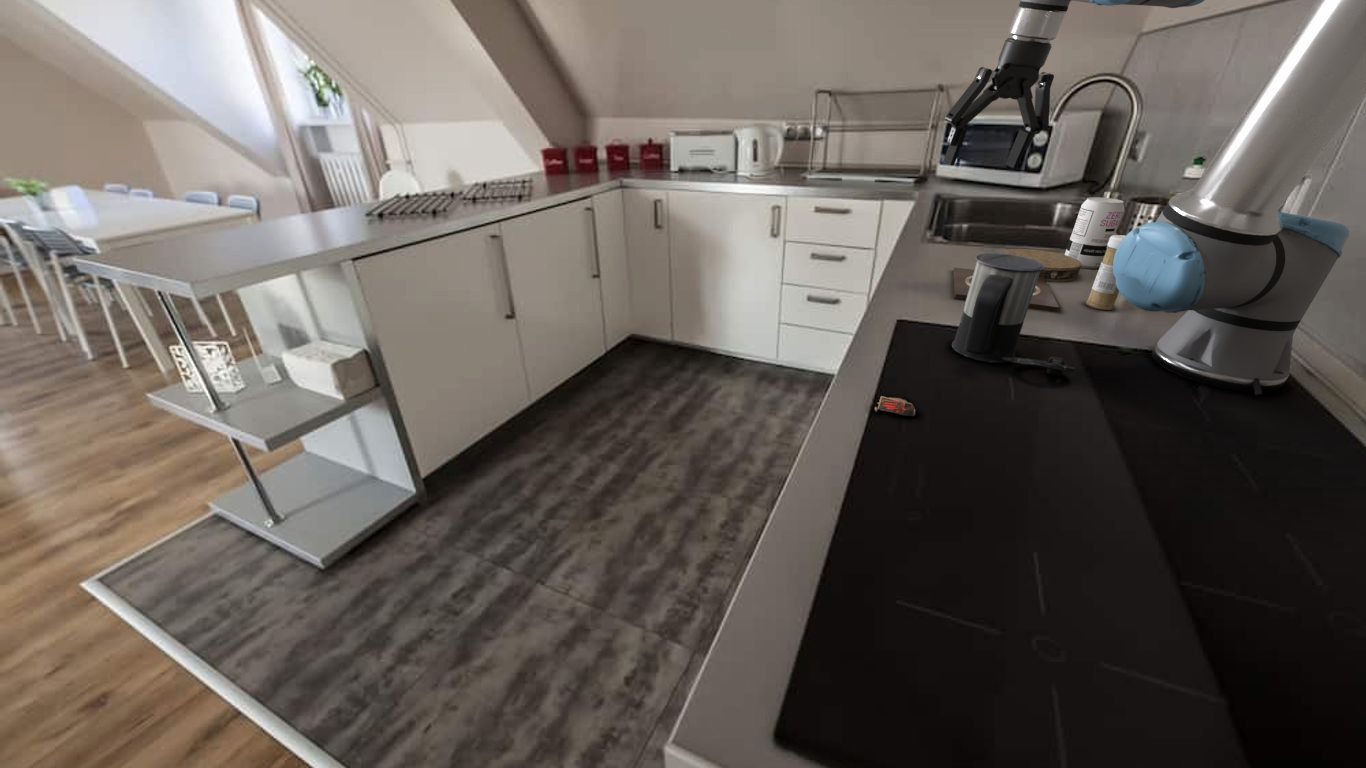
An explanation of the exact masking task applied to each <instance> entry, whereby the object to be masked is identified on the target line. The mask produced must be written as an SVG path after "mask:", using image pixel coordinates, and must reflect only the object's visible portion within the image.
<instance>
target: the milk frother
mask: <svg viewBox="0 0 1366 768" xmlns="http://www.w3.org/2000/svg"><path fill="white" fill-rule="evenodd" d="M975 260H976V264H975V267H974V269H973V270H974V274H973V277H972V281H971V284H970V288H969V292H968V295H967V299H966V300H965V303H964V307H963V311H962V313H961V317H960V322H959V324H958V328H957V330H956V333H955V336H954V340H952V343H951V347H952V349H953V350H954V351H955V352H957V353H958V354H960V355H962V356H963V357H967V358H969V359H971V360H972V359H973V360H975V361H979V362H982V363H992V364H993V363H994V364H1004V363H1014V364H1018V365H1024V366H1028V367H1033V368H1034V367H1035V368H1041V369H1046V374H1047V375H1049V376H1050V375H1051V376H1061V375H1062V374H1063V372H1065V373H1074V372H1075V369H1076V367H1074V366H1071V365H1068V364H1065V359H1064V358H1062V357H1057V356H1056V357H1055V356H1051V357H1049V358H1048V360H1042V359H1035V358H1022V357H1016V349H1017V346H1018V343H1019V338H1020V336H1021V331H1022V329H1023V325H1024V322H1025V319H1026V316H1027V313H1028V311H1029V308H1028V307H1029V304H1030V301H1031V298H1032V295H1033V292H1034V289H1035V286H1036V283H1037V280H1038V277H1039V274H1040V271H1041V270H1042V269H1044V265H1043V264H1042V263H1041V262H1038V261H1036V260H1033V259H1030V258H1026V257H1021V256H1014V255H1009V254H1002V253H997V252H990V253H988V252H987V253H979V254H977V255H976V256H975Z"/></svg>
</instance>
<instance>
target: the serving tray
mask: <svg viewBox="0 0 1366 768" xmlns="http://www.w3.org/2000/svg"><path fill="white" fill-rule="evenodd" d="M974 270H975V269H972V268H963V267H953V270H952V273H953V274H952V275H953V291H954V293H953V294H954V300H962V301H966V299H967V295H968V292H969V288H970V284H971V281H972V277H973V274H974ZM1028 309H1032V310H1037V311H1046V312H1052V313H1053V312H1054V313H1058V312H1059V309H1060V305H1059V304H1058V301H1057V300H1056V297H1055V296H1054V294H1053V293H1052V291H1051V288H1050V287H1049V285H1048V283H1047V281H1045V279H1044V278H1042V277H1038V280H1037V283H1036V286H1035V289H1034V292H1033V295H1032V298H1031V301H1030V304H1029V307H1028Z"/></svg>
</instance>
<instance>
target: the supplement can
mask: <svg viewBox="0 0 1366 768" xmlns="http://www.w3.org/2000/svg"><path fill="white" fill-rule="evenodd" d="M1124 212H1125V205H1124V201H1123V200H1120V199H1116V198H1110V197H1101V196H1100V197H1099V196H1098V197H1097V196H1094V197H1092V196H1091V197H1087V198H1086V200H1085V201H1083V203H1082V204H1081V205H1080V208H1079V211H1078V215H1077V216H1076V217H1077V218H1076V220H1075V223H1074V226H1073V229H1072V232H1071V235H1070V237H1069V241H1068V243H1067V247H1066V249H1065V253H1064V255H1066V256H1070V257H1072V258H1075V259H1077V260H1078V261H1080V262H1081V267H1080V269H1099V268H1100V265H1101V263H1102V261H1103V258H1104V256H1105V253H1106V250H1107V247H1108V246H1107V244H1108V242H1109V239H1110V237H1111V236H1113V235H1116V233H1117V230H1118V227H1119V225H1120V222H1121V219H1122V216H1123V214H1124Z"/></svg>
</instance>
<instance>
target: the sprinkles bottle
mask: <svg viewBox="0 0 1366 768" xmlns="http://www.w3.org/2000/svg"><path fill="white" fill-rule="evenodd" d="M1125 236H1126V235H1123V234H1115V235H1113V236H1111V237H1110V239H1109V242H1108V244H1107V246H1108V247H1107V250H1106V253H1105V256H1104V258H1103V261H1102V263H1101V265H1100V267H1099V268H1098V271H1097V273H1096V276H1095V279H1094V281H1093V284H1092V287H1091V290H1090V293H1089V295H1088V298H1087V300H1086V302H1085V304H1086V305H1087V306H1088V307H1089V308H1092V309H1096V310H1101V311H1110V310H1113V309H1114V308H1115V303H1116V300H1117V298H1118V295H1119V293H1120V291H1119V290H1118V288H1117V285H1116V278H1115V276H1114V275H1113V260H1114V256H1115V253H1116V250H1117V248H1118V246H1119V244H1120V242H1121V241H1122V240H1123V238H1124V237H1125Z"/></svg>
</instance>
